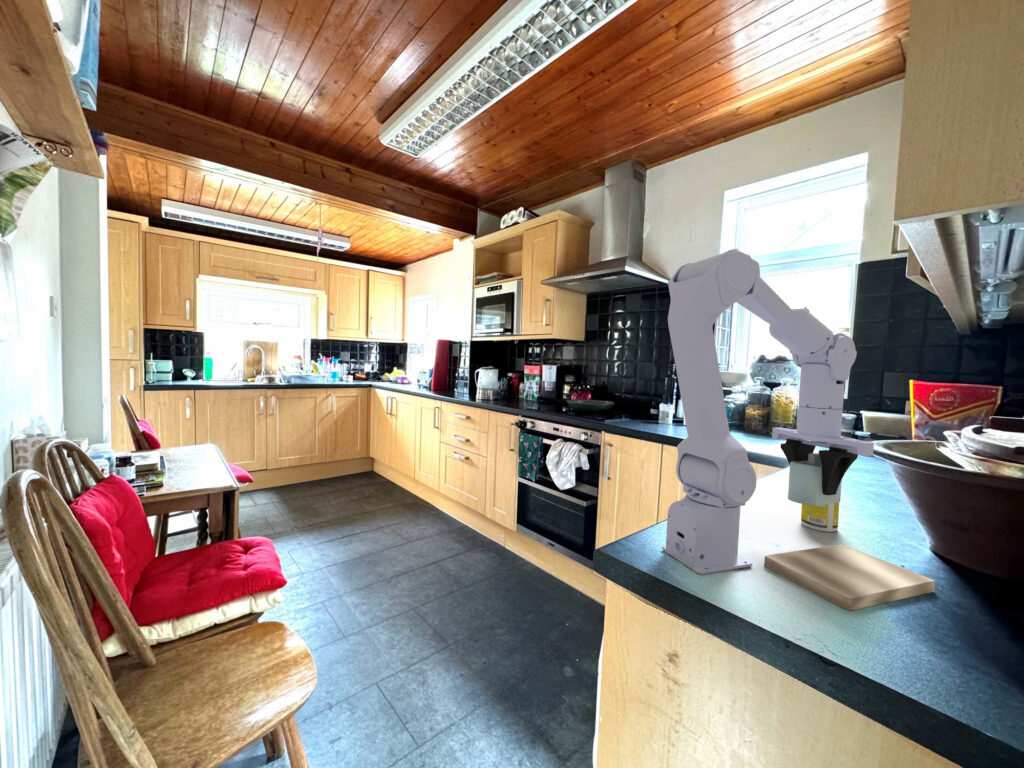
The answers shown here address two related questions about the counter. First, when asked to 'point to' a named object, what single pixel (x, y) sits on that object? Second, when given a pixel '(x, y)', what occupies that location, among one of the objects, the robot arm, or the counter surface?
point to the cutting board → (849, 576)
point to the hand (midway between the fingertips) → (814, 490)
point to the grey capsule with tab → (809, 482)
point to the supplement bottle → (821, 516)
